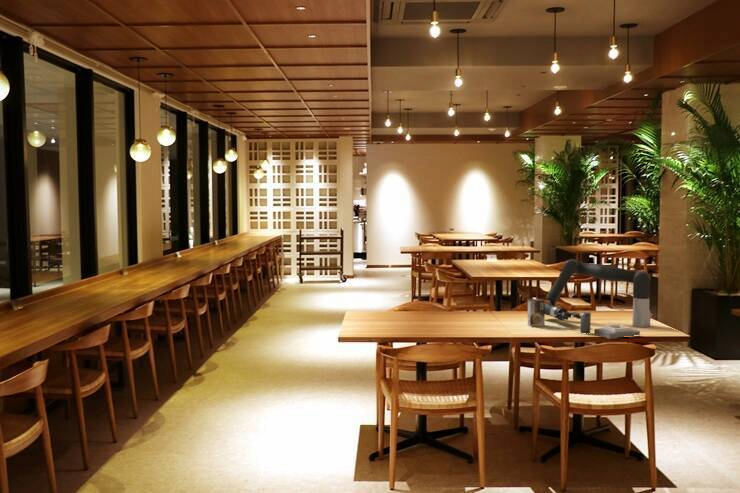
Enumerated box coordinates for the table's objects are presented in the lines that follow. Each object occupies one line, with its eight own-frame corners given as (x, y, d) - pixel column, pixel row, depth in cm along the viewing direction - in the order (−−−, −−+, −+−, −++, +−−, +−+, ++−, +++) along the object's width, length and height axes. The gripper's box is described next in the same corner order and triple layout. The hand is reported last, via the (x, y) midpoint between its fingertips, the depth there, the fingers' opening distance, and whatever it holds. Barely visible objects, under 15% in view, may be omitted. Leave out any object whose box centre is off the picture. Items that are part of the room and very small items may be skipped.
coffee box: (541, 324, 427) (542, 298, 425) (544, 326, 420) (545, 300, 419) (527, 324, 427) (527, 298, 425) (529, 326, 420) (530, 300, 419)
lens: (586, 332, 405) (587, 311, 404) (592, 333, 399) (592, 313, 398) (578, 332, 403) (578, 312, 402) (583, 334, 398) (584, 313, 397)
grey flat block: (623, 331, 405) (624, 323, 405) (639, 336, 392) (639, 327, 391) (594, 333, 400) (594, 325, 399) (609, 338, 386) (609, 330, 386)
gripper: (548, 307, 425) (563, 312, 410) (569, 306, 429) (584, 310, 414) (548, 319, 426) (563, 324, 410) (569, 318, 430) (584, 323, 414)
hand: (573, 317), depth 412 cm, fingers open, 8 cm apart
